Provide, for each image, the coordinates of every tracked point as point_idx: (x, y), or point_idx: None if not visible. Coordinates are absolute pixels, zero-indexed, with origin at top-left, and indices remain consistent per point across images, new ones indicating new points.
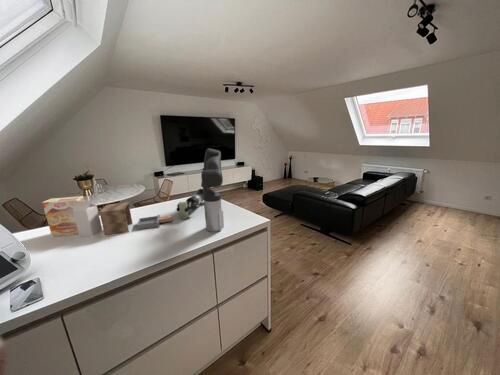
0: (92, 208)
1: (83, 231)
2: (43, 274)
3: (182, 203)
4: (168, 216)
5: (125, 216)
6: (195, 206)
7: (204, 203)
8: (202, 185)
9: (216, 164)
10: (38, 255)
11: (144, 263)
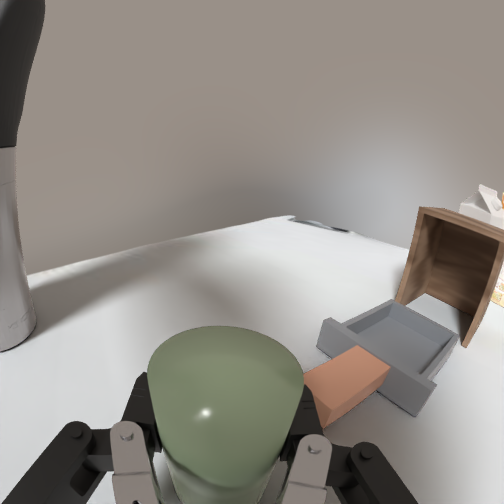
0: (476, 211)
1: None
2: (349, 235)
3: (234, 365)
4: (340, 391)
5: (412, 240)
6: (49, 471)
7: (15, 164)
8: (31, 60)
9: None
10: None
11: (200, 238)
